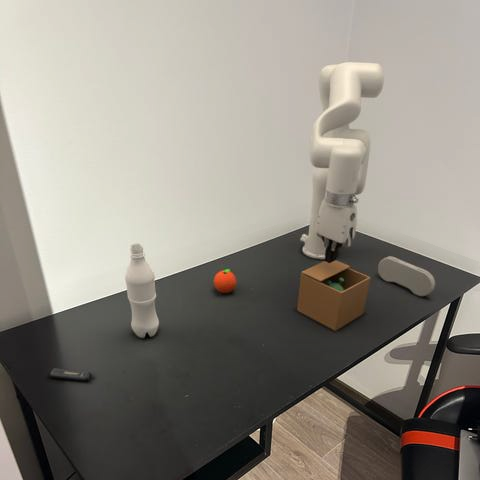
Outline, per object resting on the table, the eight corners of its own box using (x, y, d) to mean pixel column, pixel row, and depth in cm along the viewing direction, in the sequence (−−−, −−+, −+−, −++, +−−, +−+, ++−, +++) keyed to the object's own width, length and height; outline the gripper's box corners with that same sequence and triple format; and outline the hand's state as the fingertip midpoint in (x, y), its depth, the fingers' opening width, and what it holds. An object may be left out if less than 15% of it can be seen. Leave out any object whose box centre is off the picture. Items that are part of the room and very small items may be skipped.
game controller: (431, 298, 140) (439, 274, 135) (427, 300, 138) (434, 276, 134) (379, 274, 152) (384, 252, 147) (375, 276, 151) (380, 253, 146)
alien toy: (326, 318, 128) (331, 288, 122) (314, 305, 134) (318, 275, 128) (348, 315, 129) (353, 284, 124) (335, 301, 136) (340, 272, 130)
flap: (301, 272, 125) (301, 271, 125) (330, 259, 133) (331, 258, 132) (320, 281, 121) (320, 280, 121) (350, 267, 128) (350, 266, 128)
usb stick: (49, 378, 104) (47, 373, 103) (54, 371, 106) (53, 366, 106) (88, 383, 103) (87, 378, 102) (92, 375, 105) (91, 370, 105)
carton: (296, 310, 132) (300, 274, 125) (325, 295, 139) (330, 260, 133) (335, 331, 123) (341, 293, 117) (363, 313, 131) (370, 277, 125)
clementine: (221, 282, 144) (221, 262, 141) (241, 287, 142) (241, 267, 138) (209, 294, 138) (209, 273, 134) (230, 299, 136) (230, 278, 132)
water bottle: (164, 328, 122) (157, 242, 109) (151, 342, 117) (142, 254, 103) (140, 322, 124) (130, 238, 110) (127, 337, 119) (114, 249, 105)
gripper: (372, 201, 114) (360, 266, 124) (326, 186, 123) (317, 248, 133) (355, 208, 109) (343, 275, 120) (308, 192, 118) (301, 255, 129)
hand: (330, 260), depth 126 cm, fingers closed
